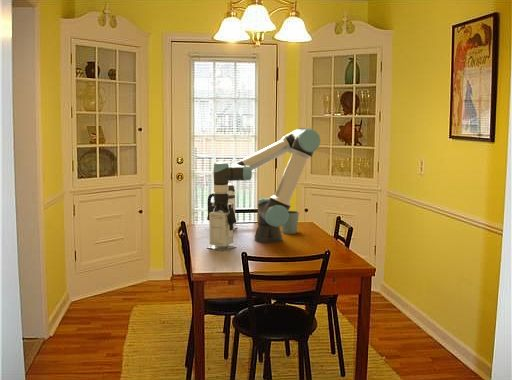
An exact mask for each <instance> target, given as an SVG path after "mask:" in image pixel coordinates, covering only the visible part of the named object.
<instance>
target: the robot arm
mask: <svg viewBox="0 0 512 380" xmlns="http://www.w3.org/2000/svg"><path fill="white" fill-rule="evenodd" d="M320 145H321V136H320V135H319V133H318V132H317V131H316V130H314V129H313V128H312V129H311V128H309V127H308V128H305V127H300V128H296V129H294V130H293V131H291V132H290V133H287V134H286V135H284V136H282V138H281V139H280V140H278V141H276V142H274V143H272V144H271V145H270V144H269V146H267V147H264V148H263V149H260V150H258V151H257V152H254V153H252V154H251V155H249V156H247V157H245V158H243V159H241V160H239V161H236V162H233V163H231V164H229V163H228V162H226V161H224V162H223V161H219V162H217V161H216V162H214V164H213V192H214V196H213V201H211V202H210V208H209V212H208V211H207V217H206V220H207V221H209V213H210V212H213V211H214V212H216V211H223V213H228V212H229V214H228V215H227V219H228V223H229V224H228V237H231V236H232V230H233V231H234V227H233V224H234V223H235V224H236V223H237V219H236V212H235V213H234V209H233V204H229V203H228V200H229V194H228V193H227V192H228V184H229V181H230V182H232V181H241V182H242V181H244V182H246V181H251V179H252V177H253V172H252V171H253V170H256V169H257V168H260V167H262V166H263V165H265V164H267V163H269V162H271V161H273V160H275V159H277V158H279V157H281V156H284V155H286V154H287V153H289V154H291V155H290V157H289V160H288V162H287V164H286V167H285V169H284V172H283V174H282V177H281V178H280V181H279V183H278V186H277V188H276V191H275V192H274V195H272V196H270V197H269V198H260V199H258V200H257V228H256V230H255V234H254V241H255V242H258V243H259V242H260V243H278V242H281V241H283V234H282V229H281V227H282V225H284V224H285V223H286V222H287V220H288V217H289V214H288V211H290V208H291V206H292V205H291V203H290V202H291V199H292V196H293V194H294V192H295V189H296V187H297V184H298V182H299V180H300V177H301V176H302V172H303V171H304V168H305V166H306V164H307V162H308V160H309V159H311V158H312V157H313V155H314V152H315V151H317V150H318V149H319V147H320ZM214 200H215V202H214ZM214 206H215V209H214ZM228 208H229V210H228Z"/></svg>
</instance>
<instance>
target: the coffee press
mask: <svg viewBox="0 0 512 380" xmlns="http://www.w3.org/2000/svg"><path fill="white" fill-rule="evenodd" d="M214 193H215V192H214ZM214 193H210V194H208V197H207V213H208V212H209V208H210V202H212V198H214ZM227 193H228V194H229V200H228V203H229V204H233V209H234V213H235V214H236V187H235V186H234V184H231V183H228V192H227ZM213 202H215V200H214V199H213ZM214 209H215V206H214ZM228 210H229V208H228ZM235 226H236V227H235ZM233 228H234V229H235V230H237V229H238V226H237V224H236V223H234V224H233Z"/></svg>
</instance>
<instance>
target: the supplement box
mask: <svg viewBox="0 0 512 380" xmlns="http://www.w3.org/2000/svg"><path fill="white" fill-rule="evenodd" d="M228 214H229V212H228V213H223V211H216V212H214V211H213V212H210V213H209V220H208V221H209V245H211V246H213V245H219V246H227V245H232V244H233V243H234V229H233V230H232V236H231V237H228V224H229V223H228V219H227V215H228Z"/></svg>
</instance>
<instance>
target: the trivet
mask: <svg viewBox="0 0 512 380" xmlns="http://www.w3.org/2000/svg"><path fill="white" fill-rule="evenodd" d="M236 248H237V245H232V244H229V245H227V246H219V245H211V246H206V249H207V250H213V251H217V252H218V251H220V252H226V251H229V250H230V251H231V250H233V249H236Z"/></svg>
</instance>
